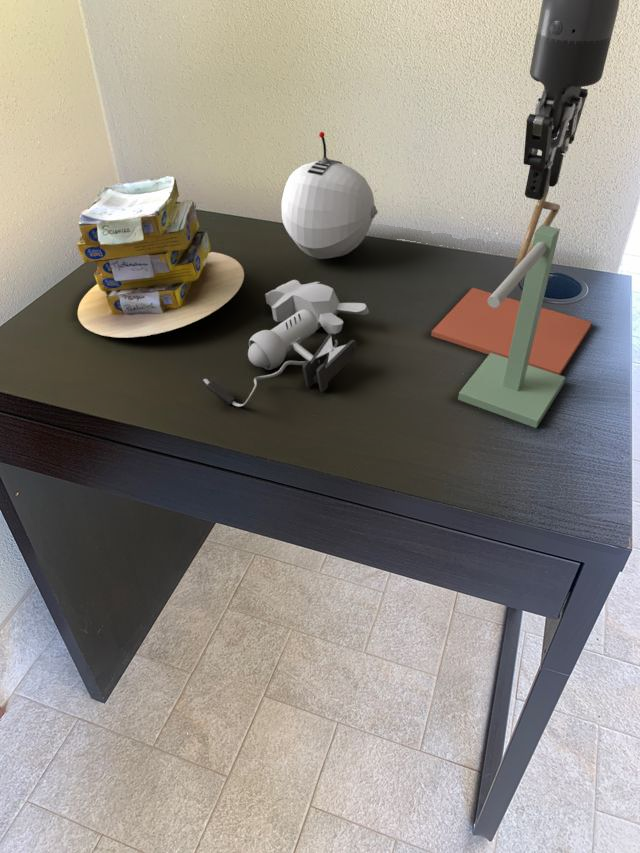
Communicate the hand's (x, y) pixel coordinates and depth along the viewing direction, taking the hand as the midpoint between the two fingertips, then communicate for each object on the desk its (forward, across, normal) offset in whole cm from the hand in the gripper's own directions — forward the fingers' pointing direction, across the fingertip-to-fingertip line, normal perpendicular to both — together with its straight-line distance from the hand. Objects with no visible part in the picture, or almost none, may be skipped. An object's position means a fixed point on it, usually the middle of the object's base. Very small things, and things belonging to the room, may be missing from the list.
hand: (541, 190), depth 82 cm
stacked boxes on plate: (+20, -20, +47) cm, 55 cm away
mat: (+20, 0, 0) cm, 20 cm away
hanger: (+8, +3, 0) cm, 9 cm away
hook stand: (+20, -17, -5) cm, 27 cm away
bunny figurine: (+20, -12, +25) cm, 35 cm away
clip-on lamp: (+20, -26, +21) cm, 39 cm away
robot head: (+20, +6, +34) cm, 40 cm away
